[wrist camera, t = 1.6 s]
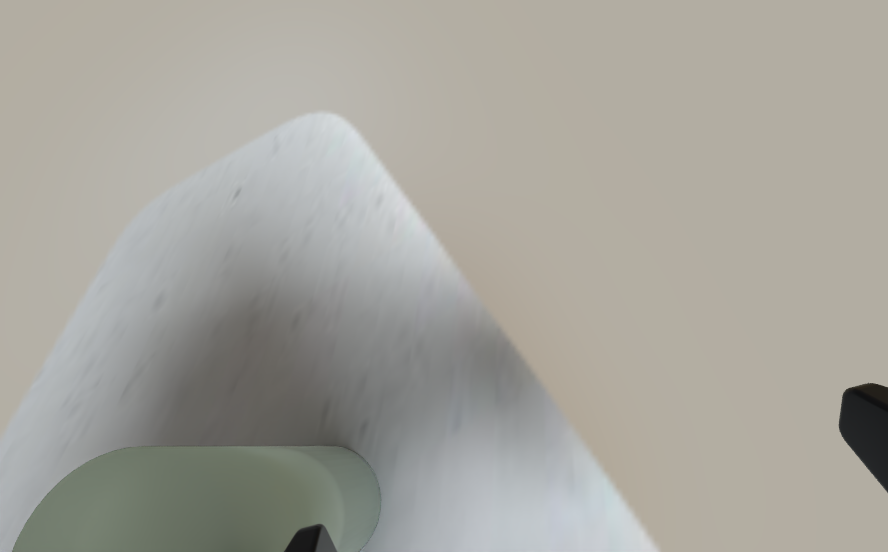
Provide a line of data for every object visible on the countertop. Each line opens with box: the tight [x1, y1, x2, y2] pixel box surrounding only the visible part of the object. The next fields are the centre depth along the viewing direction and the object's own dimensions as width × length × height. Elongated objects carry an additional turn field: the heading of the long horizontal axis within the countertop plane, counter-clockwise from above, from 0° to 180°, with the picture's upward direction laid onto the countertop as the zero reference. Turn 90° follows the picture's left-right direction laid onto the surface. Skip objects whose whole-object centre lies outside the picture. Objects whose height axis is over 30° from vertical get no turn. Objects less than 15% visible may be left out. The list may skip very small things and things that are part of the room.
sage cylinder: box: [12, 446, 381, 552], centre depth 15 cm, size 5×5×12 cm
